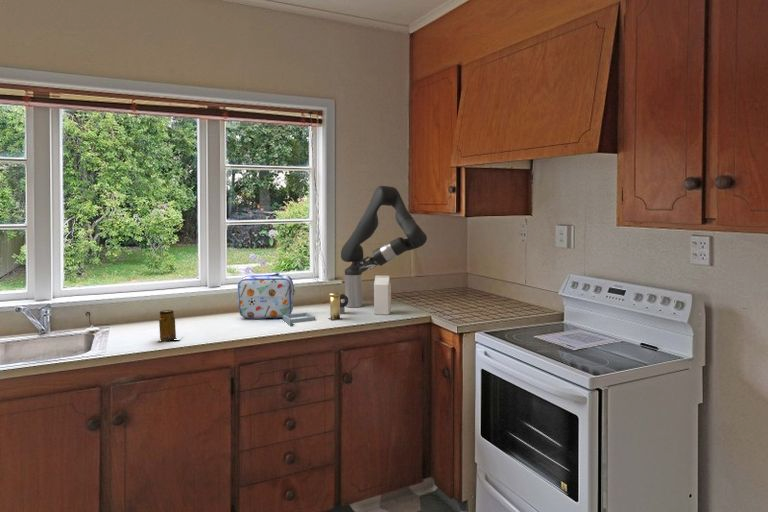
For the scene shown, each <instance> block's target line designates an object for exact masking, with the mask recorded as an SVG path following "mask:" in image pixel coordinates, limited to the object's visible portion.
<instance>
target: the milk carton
mask: <svg viewBox="0 0 768 512" xmlns="http://www.w3.org/2000/svg"><path fill="white" fill-rule="evenodd" d="M391 285H392V283H391V279H390V275H375V277H374V282H373V290H374V291H373V297H374V298H373V300H374V301H373V305H374V315H387V316H388V315H390V313H391V312H392V286H391Z"/></svg>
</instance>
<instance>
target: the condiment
mask: <svg viewBox="0 0 768 512" xmlns="http://www.w3.org/2000/svg"><path fill="white" fill-rule="evenodd" d="M158 321H159V322H158V323H159V326H158V327H159V340H161V341H168V342H170V341H169V340H174V339H177V338H176V337H177V332H176V317H175V314H174V310H172V309H163V310H160V312H159V319H158ZM159 340H158V341H157V343H160V342H159Z"/></svg>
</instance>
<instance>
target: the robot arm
mask: <svg viewBox="0 0 768 512" xmlns="http://www.w3.org/2000/svg"><path fill="white" fill-rule="evenodd" d="M381 206H387V207H388V206H389V207H393V209H394V210H395V221H396V222H397V224H398V226H399V227H400V229H402V231H403V233H404V235H405V236H406V237H407V238H403V237H396V238H395V239H393V240H392V241H390V242H387V243H385V244H384V245H381V246H380V247H378V248H376V249H375V250H373V251H372V256H369V255H368V256H366V257H364V249H363V247H362V244H363V243H364V242H366V241H367V240H368V239H370V238H371V237H372V236H373V235H374V233H375V231H376V230H377V228H378V227H379V217H378V211H379V209H380V208H381ZM427 240H428V236H427V234H426V233H425V232H424V231H423V230H422V228H421V227H420V226H419V225H418V224H417V222H416V220H415V219H414V217H413V216H412V215H411V214H410V212H409V211H408V208H407V207H406V205H405V203H404V200H403V198H402V196H401V194H400V192H399V191H398V189H397V187H393V186H385V185H379V186H378V187H376V189H375V190H374V192H373V194H372V197H371V198H370V202H369V203H368V206H367V207H366V209H365V211H364V213H363V215H362V217H361V218H360V220H359V222H358V223H357V225H356V226H355V229H354V231H352V233H351V235H350V237H349V238H348V239H347V241H346V242H345V243H344V244H343V246H342V248H341V250H340V258H341V260H342V261H343V262H345V263H351V265H349V266H348V267H346V268H345V269H344V292H345V293H344V295H346V296H347V297H348V304H347V305H346V306H345V307H346V308H361V307H363V305H364V304H363V273H364V272H366V271H367V270H368V271H369V270H373V269H375V267H377V266H384V265H385V264H387V263H389V262H390V261H392V260H394V259H395V258H396V257H398V256H400V255H401V254H403V253H405V252H407V251H412V250H415V249H418V248H420V247H423V246H424V245H425V244H426V242H427Z"/></svg>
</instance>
